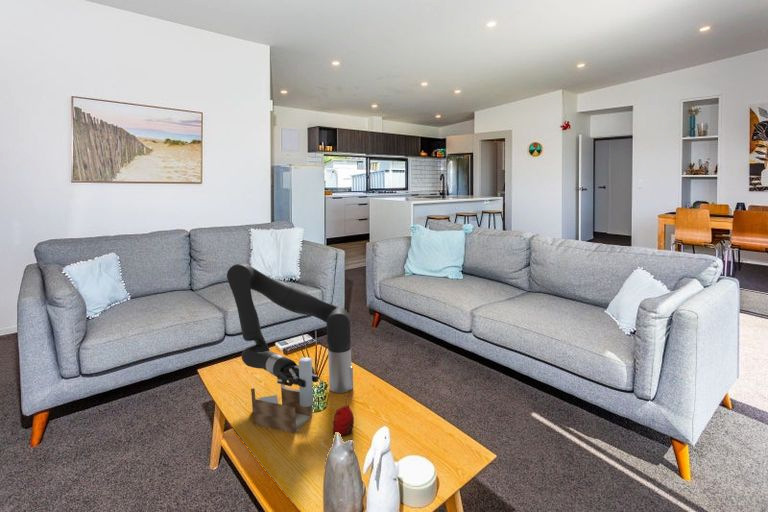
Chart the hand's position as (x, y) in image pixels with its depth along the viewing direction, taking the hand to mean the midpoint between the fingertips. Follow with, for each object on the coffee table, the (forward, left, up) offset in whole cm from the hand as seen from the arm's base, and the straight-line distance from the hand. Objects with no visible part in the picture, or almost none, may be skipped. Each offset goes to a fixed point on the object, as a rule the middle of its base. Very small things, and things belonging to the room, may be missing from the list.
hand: (310, 381), depth 141 cm
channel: (+9, -9, -17) cm, 21 cm away
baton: (+2, -2, -9) cm, 9 cm away
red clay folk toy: (-10, +6, -18) cm, 21 cm away
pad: (+13, -23, -17) cm, 32 cm away
